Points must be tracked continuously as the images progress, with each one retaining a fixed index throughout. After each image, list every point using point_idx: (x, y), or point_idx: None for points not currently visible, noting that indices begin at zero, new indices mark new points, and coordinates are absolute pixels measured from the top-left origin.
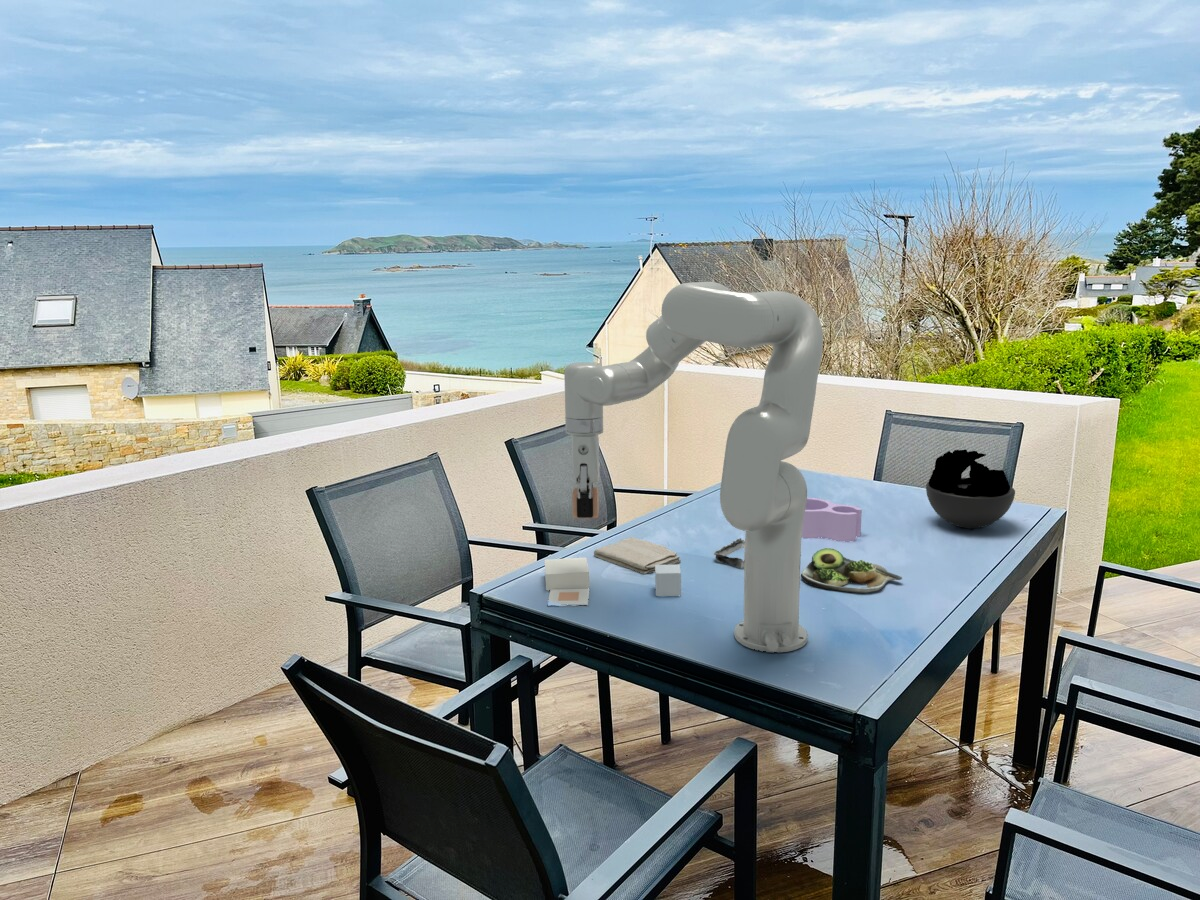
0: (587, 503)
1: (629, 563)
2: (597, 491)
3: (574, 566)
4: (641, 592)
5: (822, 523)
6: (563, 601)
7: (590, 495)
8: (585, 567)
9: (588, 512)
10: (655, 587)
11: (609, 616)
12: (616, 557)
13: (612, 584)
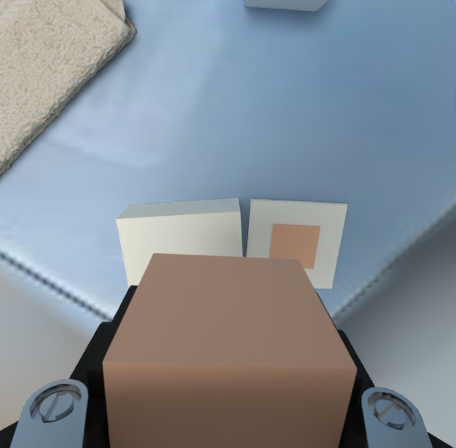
0: (368, 383)
1: (85, 79)
2: (258, 368)
3: (192, 250)
4: (278, 56)
5: None
6: (320, 257)
7: (420, 425)
8: (202, 221)
9: (343, 333)
10: (266, 5)
11: (417, 153)
12: (44, 120)
13: (211, 138)
